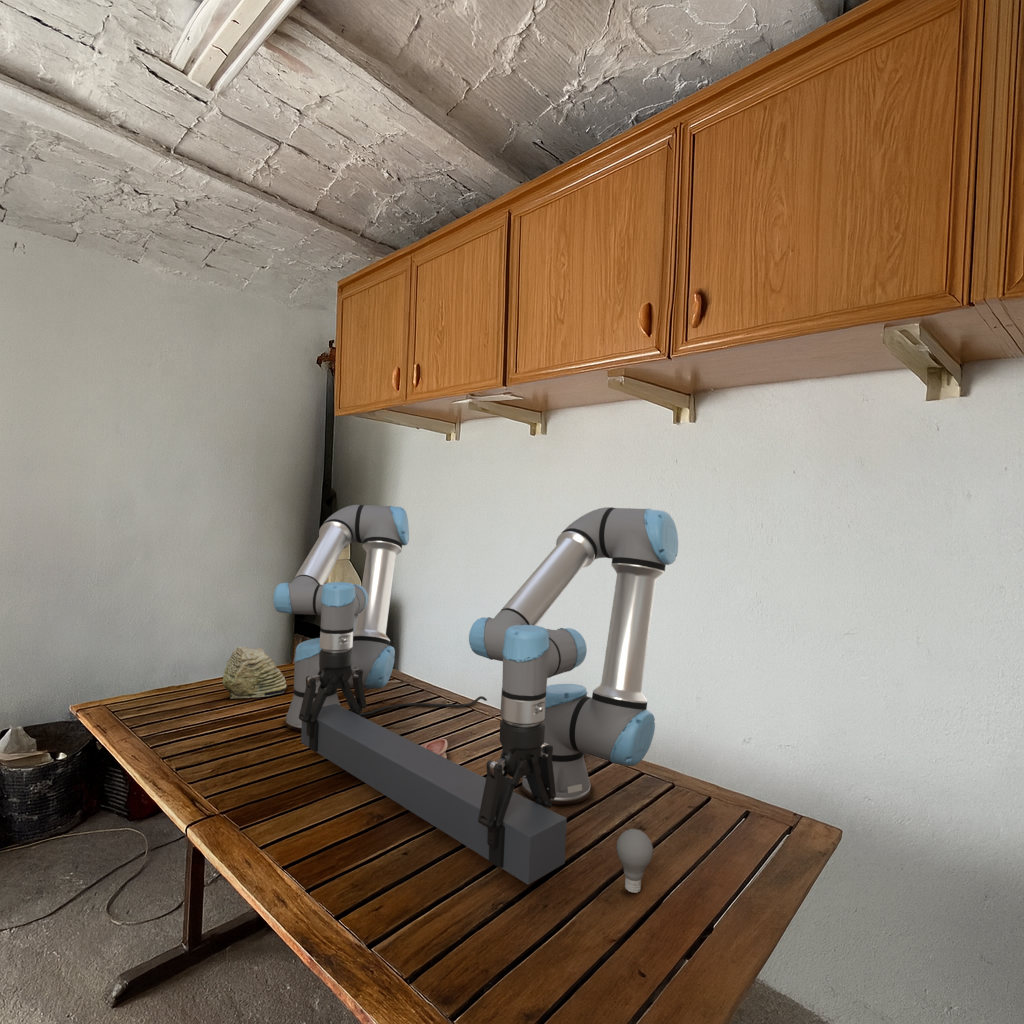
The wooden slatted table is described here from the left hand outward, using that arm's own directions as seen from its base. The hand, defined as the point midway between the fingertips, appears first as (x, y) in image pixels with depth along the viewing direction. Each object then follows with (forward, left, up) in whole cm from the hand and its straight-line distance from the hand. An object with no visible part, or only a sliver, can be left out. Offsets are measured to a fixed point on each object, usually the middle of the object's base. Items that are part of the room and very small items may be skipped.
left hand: (332, 744), depth 149 cm
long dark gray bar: (+3, +30, 0) cm, 30 cm away
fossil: (-15, -61, -5) cm, 63 cm away
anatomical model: (-17, +12, -5) cm, 21 cm away
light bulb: (-6, +76, -5) cm, 76 cm away
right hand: (+6, +60, 0) cm, 61 cm away
